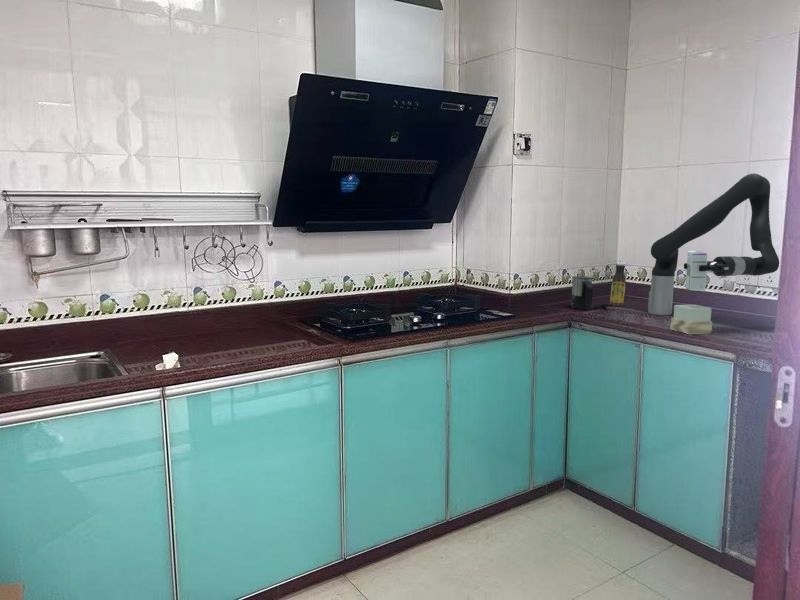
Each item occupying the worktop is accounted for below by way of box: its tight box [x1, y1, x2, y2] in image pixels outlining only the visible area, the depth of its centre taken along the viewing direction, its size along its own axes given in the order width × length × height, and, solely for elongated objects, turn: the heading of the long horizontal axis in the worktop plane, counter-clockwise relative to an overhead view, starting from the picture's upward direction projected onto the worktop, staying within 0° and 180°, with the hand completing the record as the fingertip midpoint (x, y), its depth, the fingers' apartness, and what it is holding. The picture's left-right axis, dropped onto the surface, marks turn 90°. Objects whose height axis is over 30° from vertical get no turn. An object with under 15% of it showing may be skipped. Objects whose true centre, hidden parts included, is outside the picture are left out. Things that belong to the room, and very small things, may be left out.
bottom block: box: [669, 317, 713, 335], centre depth 227 cm, size 10×10×5 cm
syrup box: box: [685, 250, 708, 292], centre depth 224 cm, size 6×6×14 cm
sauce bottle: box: [609, 264, 627, 307], centre depth 287 cm, size 7×6×20 cm
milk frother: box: [570, 275, 611, 310], centre depth 279 cm, size 14×16×15 cm
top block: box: [673, 304, 712, 322], centre depth 226 cm, size 9×9×5 cm
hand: (692, 267), depth 223 cm, fingers closed on syrup box, 7 cm apart
